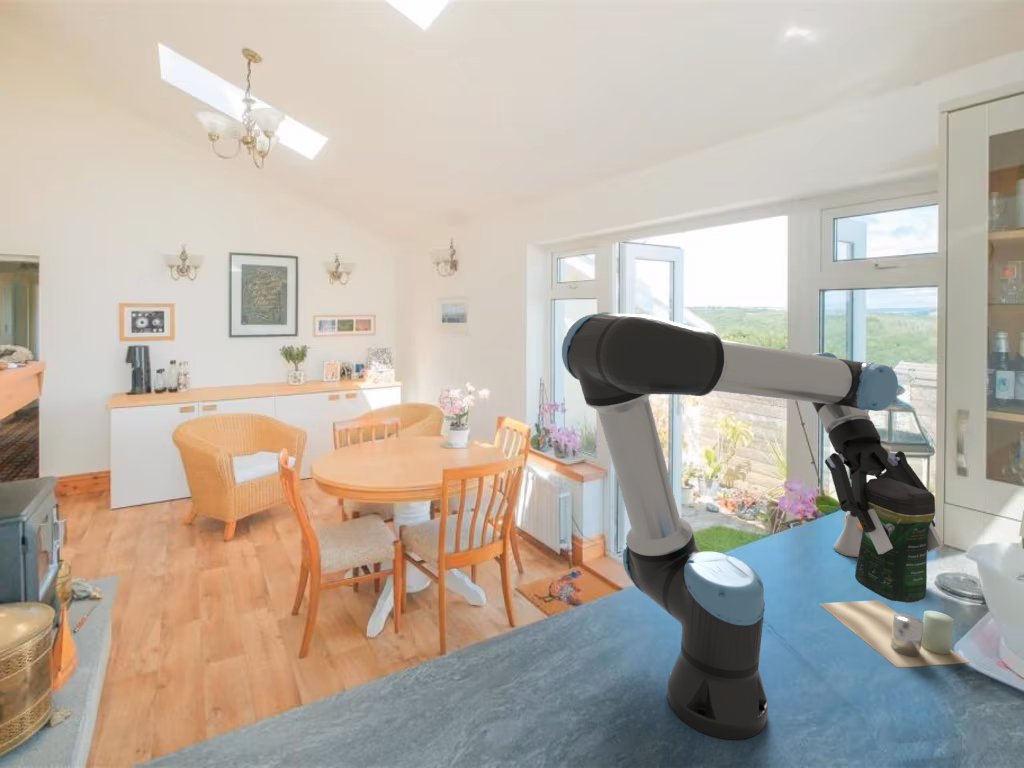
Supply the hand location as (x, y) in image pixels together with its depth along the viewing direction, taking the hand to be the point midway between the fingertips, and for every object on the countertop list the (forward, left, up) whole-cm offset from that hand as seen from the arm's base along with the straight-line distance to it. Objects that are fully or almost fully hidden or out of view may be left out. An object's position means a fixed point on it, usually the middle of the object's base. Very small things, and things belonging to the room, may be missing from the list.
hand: (910, 549), depth 88 cm
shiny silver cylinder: (+10, +9, -24) cm, 28 cm away
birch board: (+12, +15, -26) cm, 32 cm away
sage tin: (+16, +9, -24) cm, 31 cm away
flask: (+32, +51, -26) cm, 66 cm away
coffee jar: (0, +3, -9) cm, 10 cm away
